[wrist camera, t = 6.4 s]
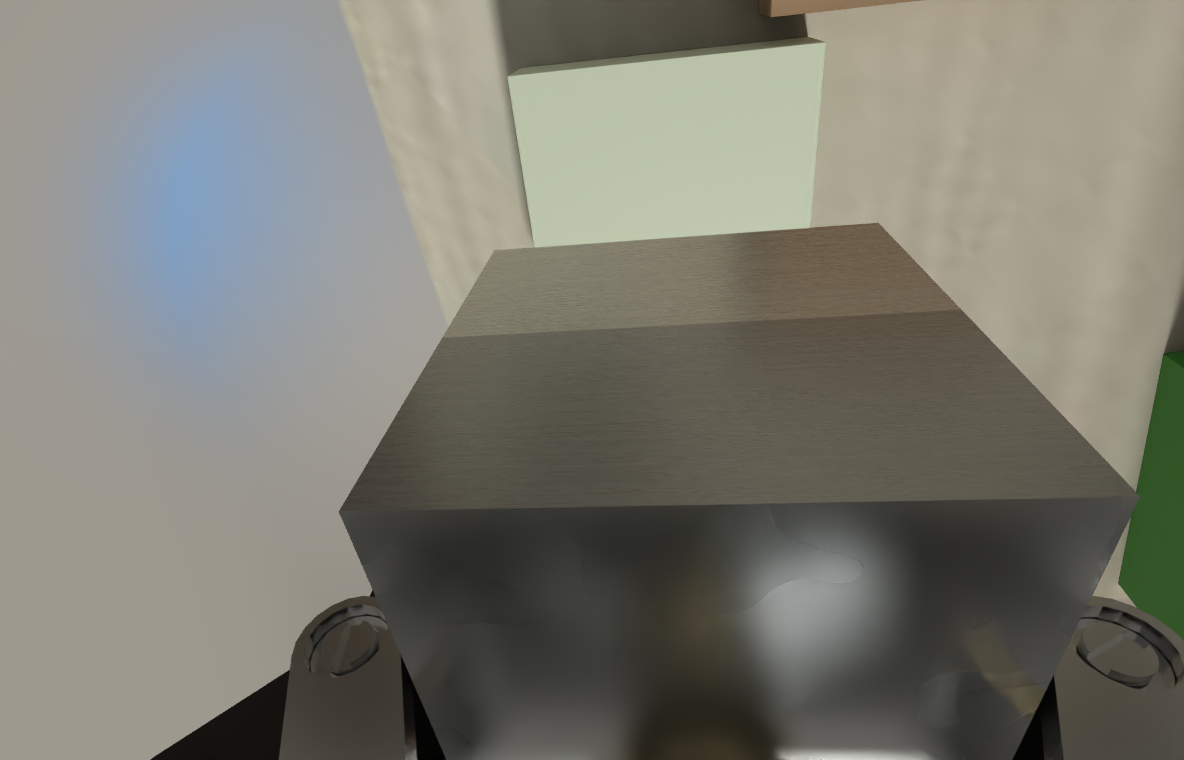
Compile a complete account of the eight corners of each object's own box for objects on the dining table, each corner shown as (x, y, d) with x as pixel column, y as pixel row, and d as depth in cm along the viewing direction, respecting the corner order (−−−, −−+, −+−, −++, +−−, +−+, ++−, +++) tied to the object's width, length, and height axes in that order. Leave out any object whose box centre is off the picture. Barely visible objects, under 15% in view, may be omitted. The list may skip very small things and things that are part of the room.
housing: (494, 249, 10) (276, 615, 4) (878, 222, 9) (1257, 619, 4) (558, 579, 14) (493, 992, 8) (827, 578, 14) (960, 1029, 8)
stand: (521, 68, 27) (507, 76, 24) (808, 36, 25) (825, 42, 23) (552, 282, 32) (543, 307, 30) (791, 267, 31) (804, 292, 28)
